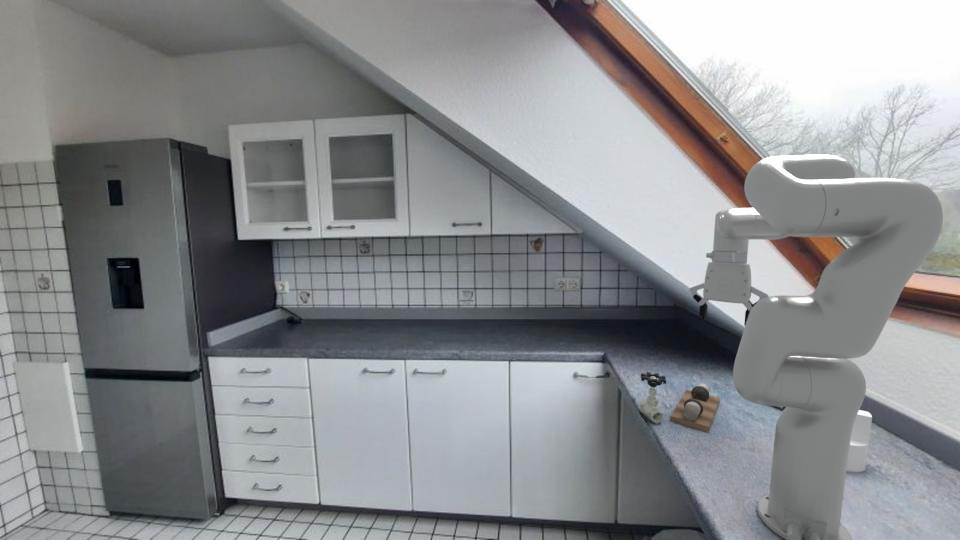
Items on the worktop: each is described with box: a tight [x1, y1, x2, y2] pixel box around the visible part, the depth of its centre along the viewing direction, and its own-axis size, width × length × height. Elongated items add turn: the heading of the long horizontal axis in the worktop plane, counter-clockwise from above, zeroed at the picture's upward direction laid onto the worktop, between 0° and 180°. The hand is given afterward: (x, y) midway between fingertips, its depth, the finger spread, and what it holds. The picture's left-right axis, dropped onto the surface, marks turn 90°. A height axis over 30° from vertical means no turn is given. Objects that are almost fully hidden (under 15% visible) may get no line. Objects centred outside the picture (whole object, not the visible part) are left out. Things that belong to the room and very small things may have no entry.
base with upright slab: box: [846, 409, 873, 473], centre depth 85 cm, size 9×9×12 cm
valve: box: [639, 371, 667, 425], centre depth 103 cm, size 7×7×12 cm
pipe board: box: [669, 382, 721, 433], centre depth 107 cm, size 21×9×6 cm, turn 141°
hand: (724, 322), depth 99 cm, fingers open, 9 cm apart
